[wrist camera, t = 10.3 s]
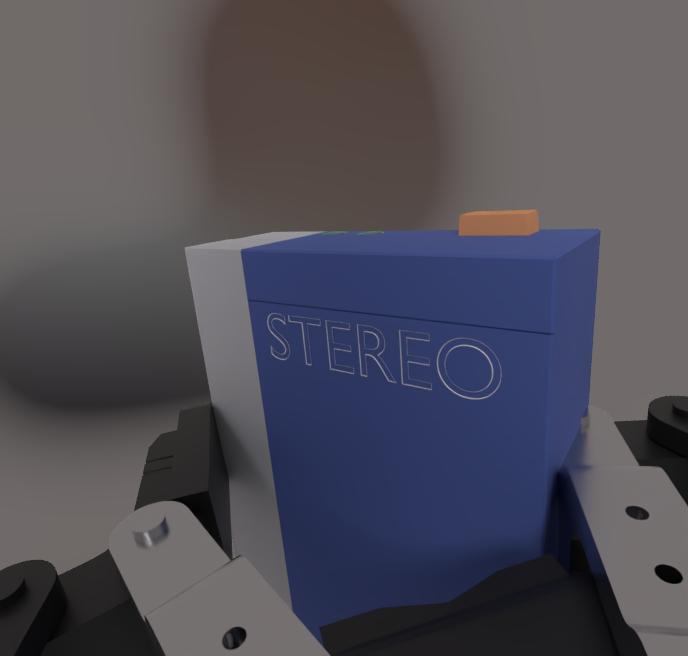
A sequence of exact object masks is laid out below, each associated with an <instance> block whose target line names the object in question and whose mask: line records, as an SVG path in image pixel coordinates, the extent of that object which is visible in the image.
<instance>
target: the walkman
mask: <svg viewBox="0 0 688 656" xmlns="http://www.w3.org/2000/svg"><path fill="white" fill-rule="evenodd" d="M599 245H600V230H599V229H562V230H561V229H556V230H555V229H554V230H553V229H551V230H539V226H538V212H537V210H511V211H482V212H481V211H480V212H471V213H467V214H463V215H460V223H459V230H440V231H338V232H337V231H334V232H333V231H331V232H330V231H328V232H271V233H266V234H261V235H255V236H250V237H244V238H239V239H232V240H231V239H228V240H223V241H218V242H212V243H207V244H202V245H196V246H191V247H185V252H186V259H187V264H188V270H189V276H190V281H191V287H192V292H193V298H194V304H195V309H196V315H197V320H198V326H199V331H200V337H201V343H202V349H203V354H204V360H205V365H206V371H207V377H208V383H209V387H210V394H211V399H212V405H213V411H214V415H215V420H216V424H217V429H218V433H219V438H220V442H221V447H222V451H223V455H224V460H225V464H226V469H227V473H228V477H229V491H230V514H231V530H232V536H233V542H234V547H235V552H236V557H237V556H239V555H242V556H244V557H245V558H246V559H247V560H248V561H249V562H250V563H251V564H252V565H253V566H254V568H255V569H256V570H257V571H258V572H259V573H260V575H261V576H262V577H263V578H264V579H265V580H266V581H267V583H268V584H269V585H270V586H271V587H272V588H273V590H274V591H275V592H276V593H277V594H278V595H279V597H280V598H281V599H282V600H283V601H284V602H285V604H286V605H287V606H288V607H289V608H290V609H291V610H292V612H293V613H294V614H295V615H296V616H297V617H298V619H299V620H300V621H301V622H302V623H303V624H304V626H305V627H306V628H307V629H308V630H309V631H310V633H311V634H312V635H313V636H314V637H315V638H316V640H317V641H318V642H319V643H320V644H321V645H322V640H321V634H320V629H319V627H321V626H324V625H327V624H330V623H333V622H337V621H340V620H343V619H346V618H349V617H352V616H356V615H359V614H362V613H365V612H368V611H371V610H375V609H378V608H382V607H396V606H409V605H423V604H436V603H445V602H449V601H451V600H453V599H455V598H456V597H458V596H459V595H461V594H462V593H464V592H465V591H467V590H469V589H470V588H472V587H473V586H475V585H476V584H478V583H479V582H481V581H482V580H484V579H486V578H487V577H489V576H490V575H492V574H493V573H495V572H496V571H498V570H501V569H504V568H507V567H510V566H513V565H517V564H520V563H523V562H526V561H529V560H532V559H536V558H539V557H542V556H545V555H548V554H552V555H553V556H554V558H555V559H556V560H557V561H558V539H559V508H558V501H557V487H558V471H559V470H560V468H561V466H562V464H563V462H564V460H565V458H566V455H567V453H568V451H569V449H570V447H571V445H572V443H573V441H574V439H575V437H576V435H577V433H578V431H579V429H580V427H581V419H582V416H583V414H584V412H585V410H586V408H588V405H589V391H590V375H591V362H592V346H593V332H594V317H595V303H596V289H597V274H598V260H599ZM322 646H323V645H322Z"/></svg>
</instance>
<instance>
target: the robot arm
mask: <svg viewBox="0 0 688 656" xmlns="http://www.w3.org/2000/svg"><path fill="white" fill-rule="evenodd" d="M143 475H144V476H142V480H141V484H140V489H139V493H138V497H137V501H136V505H135V510H134V512H133V513H131V514H129V515H128V516H127V517H125V518H124V519H123V520H122V521H121V522H120V523H119V524H118V525H117V526H116V527H115V528H114V530H113V531H112V533H111V535H110V537H109V540H108V547H109V549H108V550H107V551H105V552H104V553H102V554H100V555H99V556H97V557H95V558H94V559H92V560H90V561H88V562H86V563H84V564H82V565H79V566H77V567H75V568H73V569H71V570H69V571H67V572H65V573H63V574H61V575H59V576H58V575H57V572H56V570H55V567H54V566H53V565H52V564H51V563H49V562H48V561H44V560H30V561H25V562H21V563H17V564H15V565H12V566H9V567H7V568H5V569H3V570H1V571H0V656H688V397H686V396H665V397H660V398H657V399H655V400H653V401H652V402H650V404H649V408H648V418H647V420H642V421H641V420H640V421H620V422H619V421H618V422H613V420H612V419H611V417H610V416H609V415H608V414H607V413H606V412H605V411H603V410H601V409H599V408H598V407H595V406H592V405H588V408H586V410H585V412H584V414H583V416H582V419H581V427H580V429H579V431H578V433H577V435H576V437H575V439H574V441H573V443H572V445H571V447H570V449H569V451H568V453H567V455H566V458H565V460H564V462H563V464H562V466H561V468H560V470H559V471H558V487H557V501H558V508H559V539H558V561H557V560H556V559H555V558H554V556H553V555H552V554H548V555H545V556H542V557H539V558H536V559H532V560H529V561H526V562H523V563H520V564H517V565H513V566H510V567H507V568H504V569H501V570H498V571H496V572H495V573H493V574H492V575H490V576H489V577H487V578H486V579H484V580H482V581H481V582H479V583H478V584H476V585H475V586H473V587H472V588H470V589H469V590H467V591H465V592H464V593H462V594H461V595H459V596H458V597H456V598H455V599H453V600H451V601H449V602H445V603H436V604H423V605H409V606H396V607H382V608H378V609H375V610H371V611H368V612H365V613H362V614H359V615H356V616H352V617H349V618H346V619H343V620H340V621H337V622H333V623H330V624H327V625H324V626H321V627H319V629H320V634H321V640H322V645H323V646H322V645H321V644H320V643H319V642H318V641H317V640H316V638H315V637H314V636H313V635H312V634H311V633H310V631H309V630H308V629H307V628H306V627H305V626H304V624H303V623H302V622H301V621H300V620H299V619H298V617H297V616H296V615H295V614H294V613H293V612H292V610H291V609H290V608H289V607H288V606H287V605H286V604H285V602H284V601H283V600H282V599H281V598H280V597H279V595H278V594H277V593H276V592H275V591H274V590H273V588H272V587H271V586H270V585H269V584H268V583H267V581H266V580H265V579H264V578H263V577H262V576H261V575H260V573H259V572H258V571H257V570H256V569H255V568H254V566H253V565H252V564H251V563H250V562H249V561H248V560H247V559H246V558H245V557H244V556H242V555H239V556H237V557H236V558H234V559H233V560H232V538H231V514H230V491H229V477H228V473H227V469H226V464H225V460H224V455H223V451H222V447H221V442H220V438H219V433H218V429H217V424H216V420H215V415H214V411H213V406H212V403H207V404H202V405H198V406H193V407H189V408H184V409H181V410H180V414H179V421H178V429H177V430H176V431H172V432H168V433H163V434H161V435H160V436H159V437H158V438H157V439H156V440H155V442H154V443H153V444H152V445H151V446H150V447H149V450H148V455H147V459H146V464H145V467H144V471H143Z"/></svg>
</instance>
